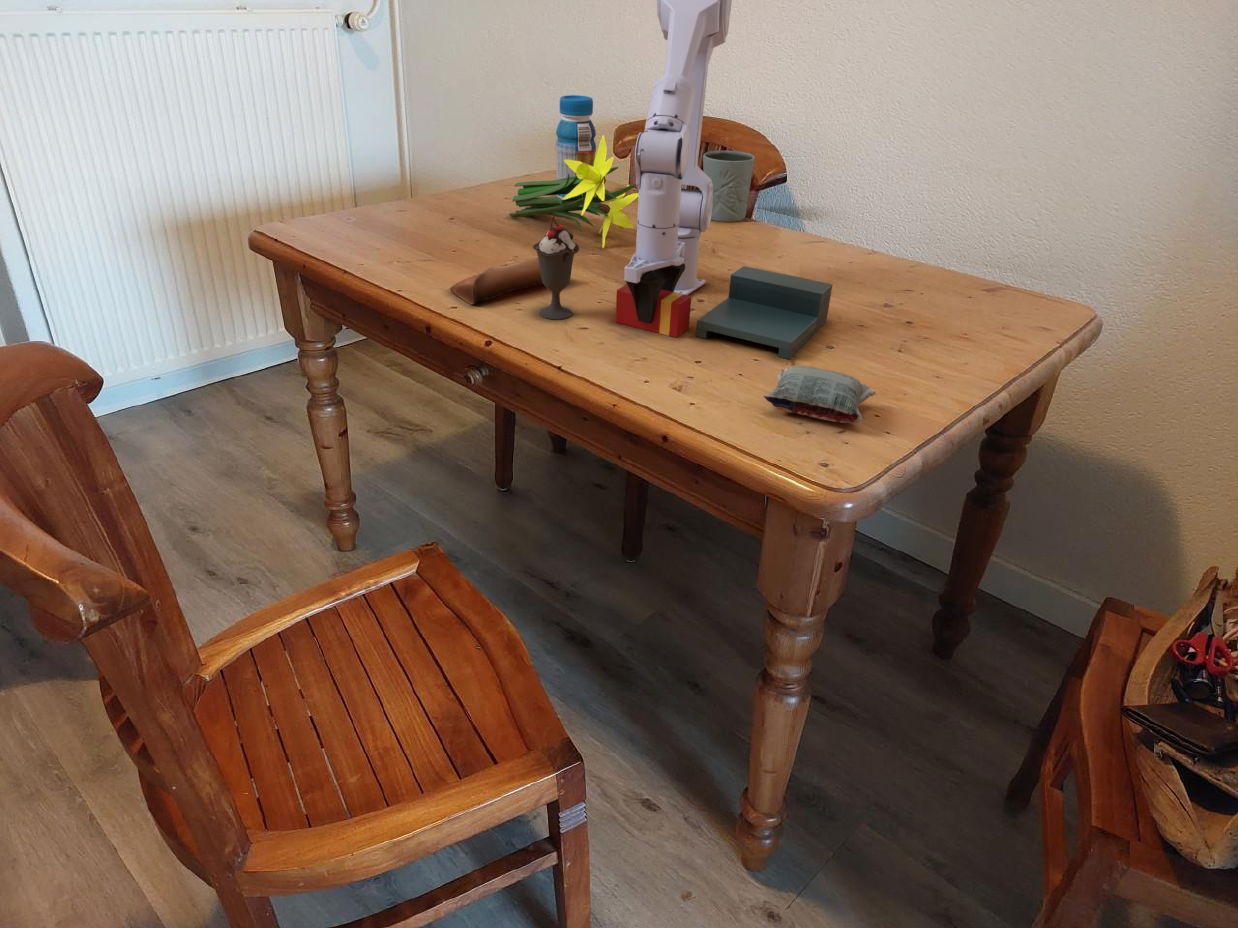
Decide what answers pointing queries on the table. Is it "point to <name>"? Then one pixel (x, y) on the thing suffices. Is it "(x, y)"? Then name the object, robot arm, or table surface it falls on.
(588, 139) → the beverage bottle
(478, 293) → the sunglasses case
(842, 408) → the packaged food
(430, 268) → the table surface
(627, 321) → the candy bar
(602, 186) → the daffodil flowers
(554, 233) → the sundae
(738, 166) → the sage green ceramic cup
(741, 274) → the shelf rack
